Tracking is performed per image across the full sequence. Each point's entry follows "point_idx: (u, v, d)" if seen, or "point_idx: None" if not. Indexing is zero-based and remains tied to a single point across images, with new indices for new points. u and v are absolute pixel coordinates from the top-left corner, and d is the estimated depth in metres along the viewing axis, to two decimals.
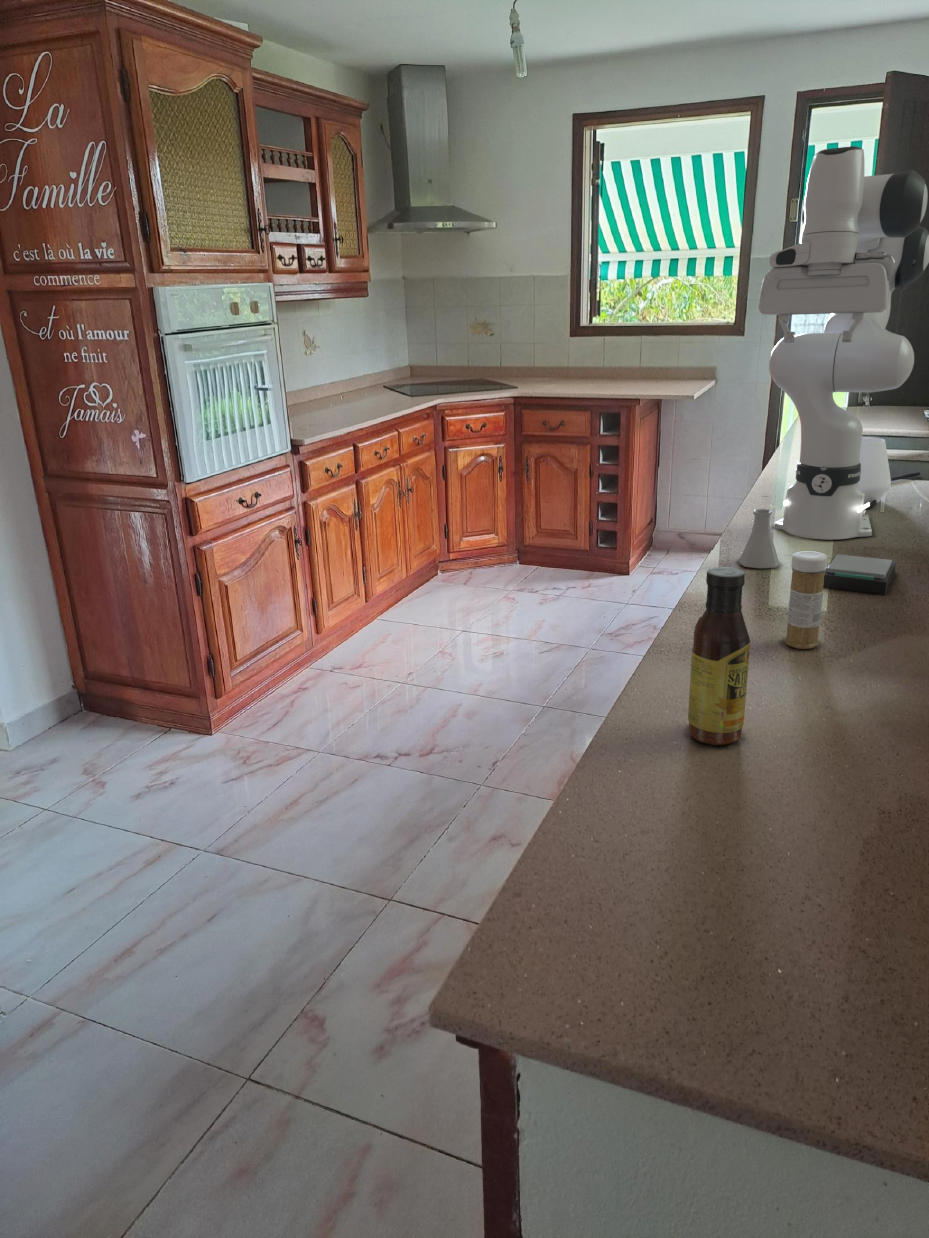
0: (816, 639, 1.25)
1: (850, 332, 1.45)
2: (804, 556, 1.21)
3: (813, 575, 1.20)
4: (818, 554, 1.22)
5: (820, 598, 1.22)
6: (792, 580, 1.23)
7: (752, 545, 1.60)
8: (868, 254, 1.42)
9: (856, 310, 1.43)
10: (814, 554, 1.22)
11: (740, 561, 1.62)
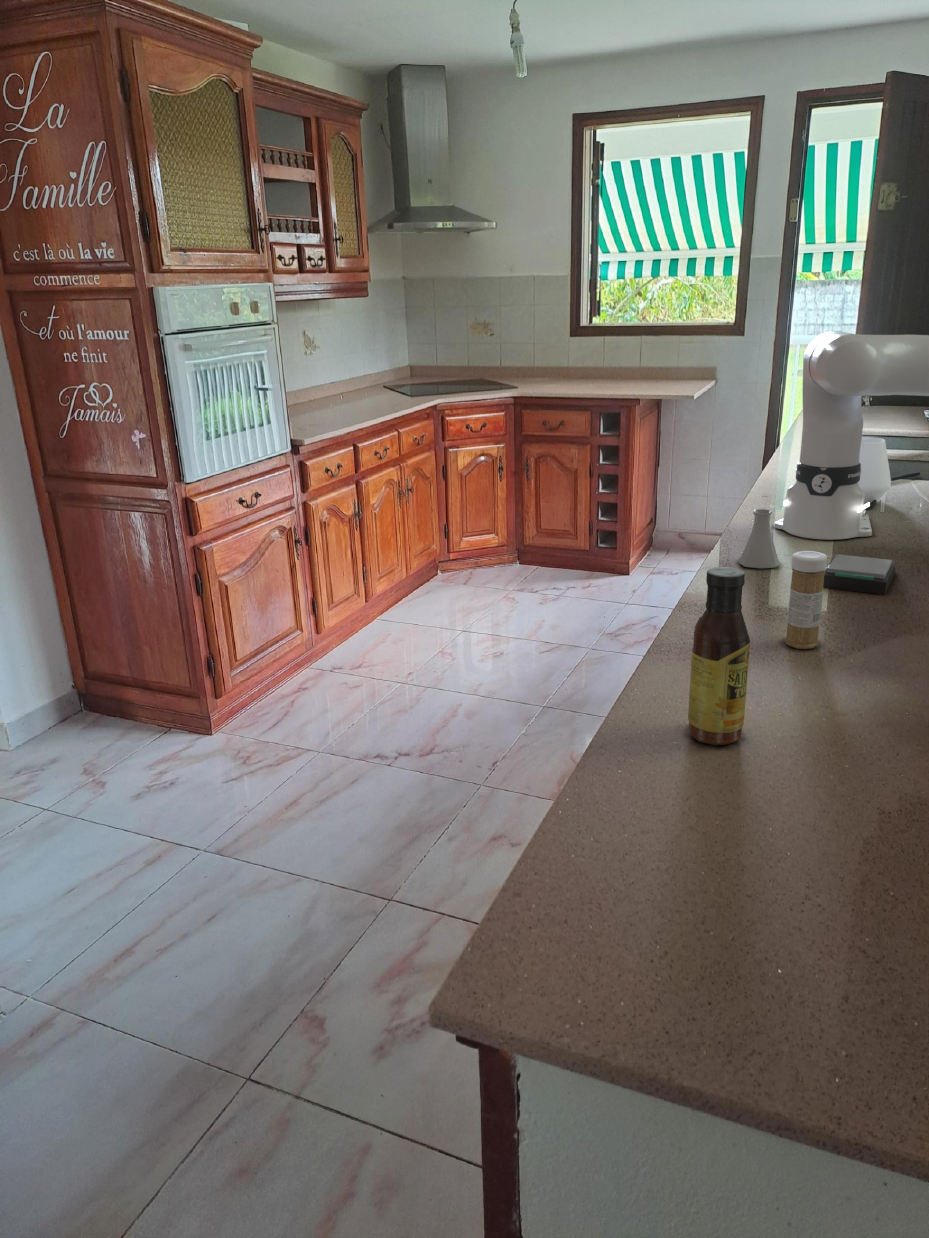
0: (816, 639, 1.25)
1: None
2: (804, 556, 1.21)
3: (813, 575, 1.20)
4: (818, 554, 1.22)
5: (820, 598, 1.22)
6: (792, 580, 1.23)
7: (752, 545, 1.60)
8: None
9: None
10: (814, 554, 1.22)
11: (740, 561, 1.62)
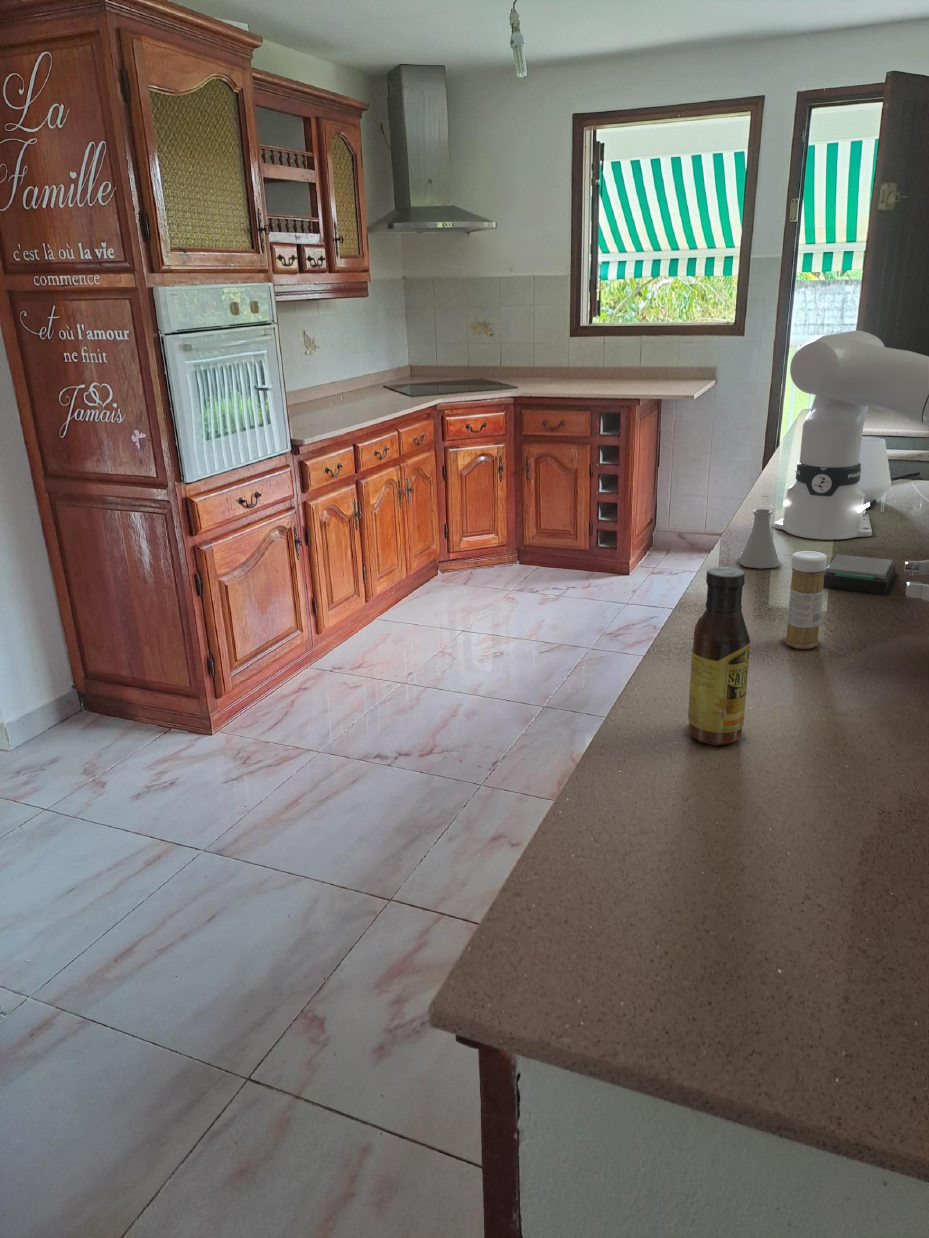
0: (816, 639, 1.25)
1: (920, 584, 1.12)
2: (803, 556, 1.21)
3: (813, 575, 1.20)
4: (818, 554, 1.22)
5: (820, 598, 1.22)
6: (792, 580, 1.23)
7: (752, 545, 1.60)
8: None
9: None
10: (814, 554, 1.22)
11: (740, 561, 1.62)
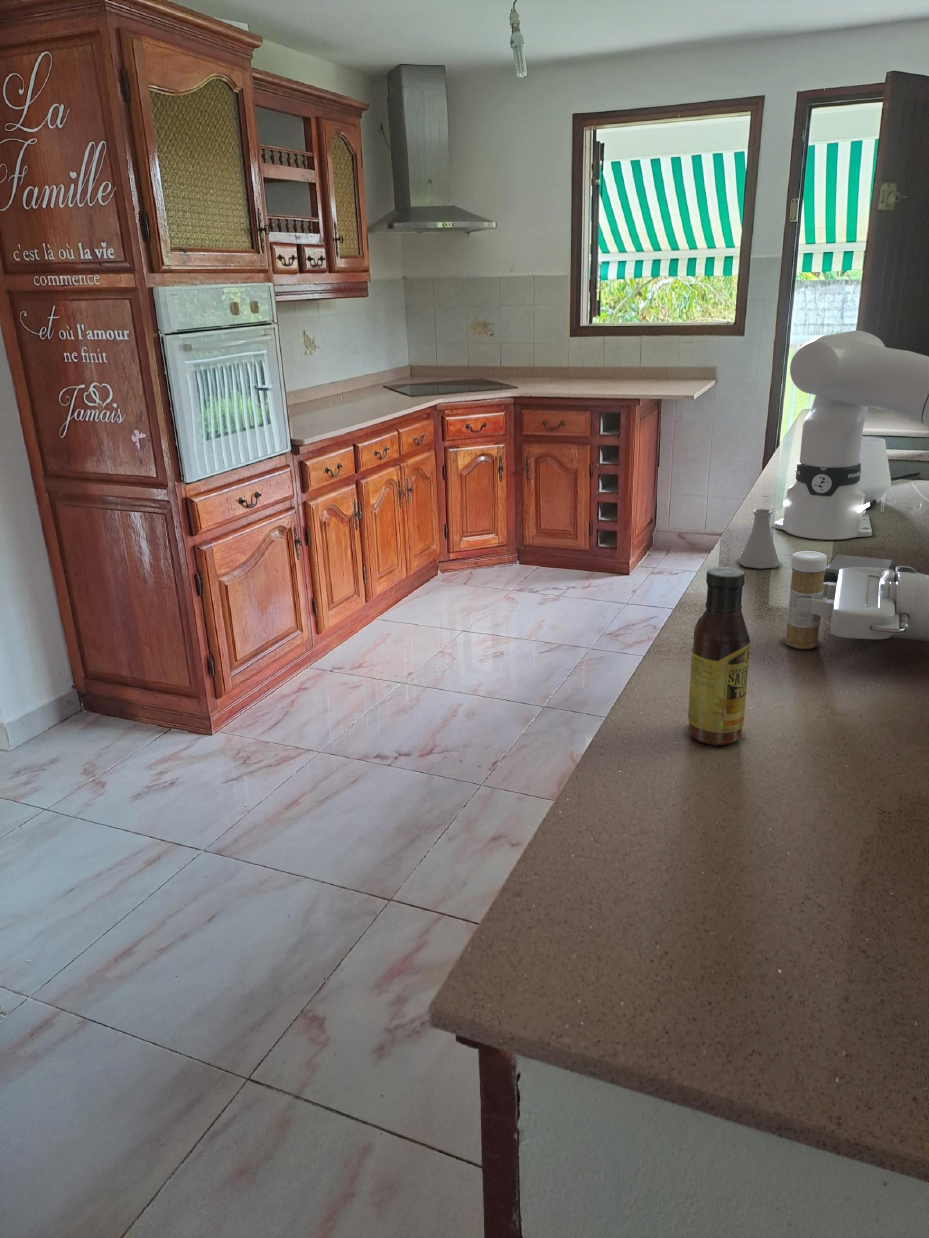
0: (816, 639, 1.25)
1: (809, 598, 1.20)
2: (803, 556, 1.21)
3: (813, 575, 1.20)
4: (818, 554, 1.22)
5: (820, 598, 1.22)
6: (792, 580, 1.23)
7: (752, 545, 1.60)
8: (906, 618, 1.13)
9: (835, 601, 1.17)
10: (813, 554, 1.22)
11: (740, 561, 1.62)
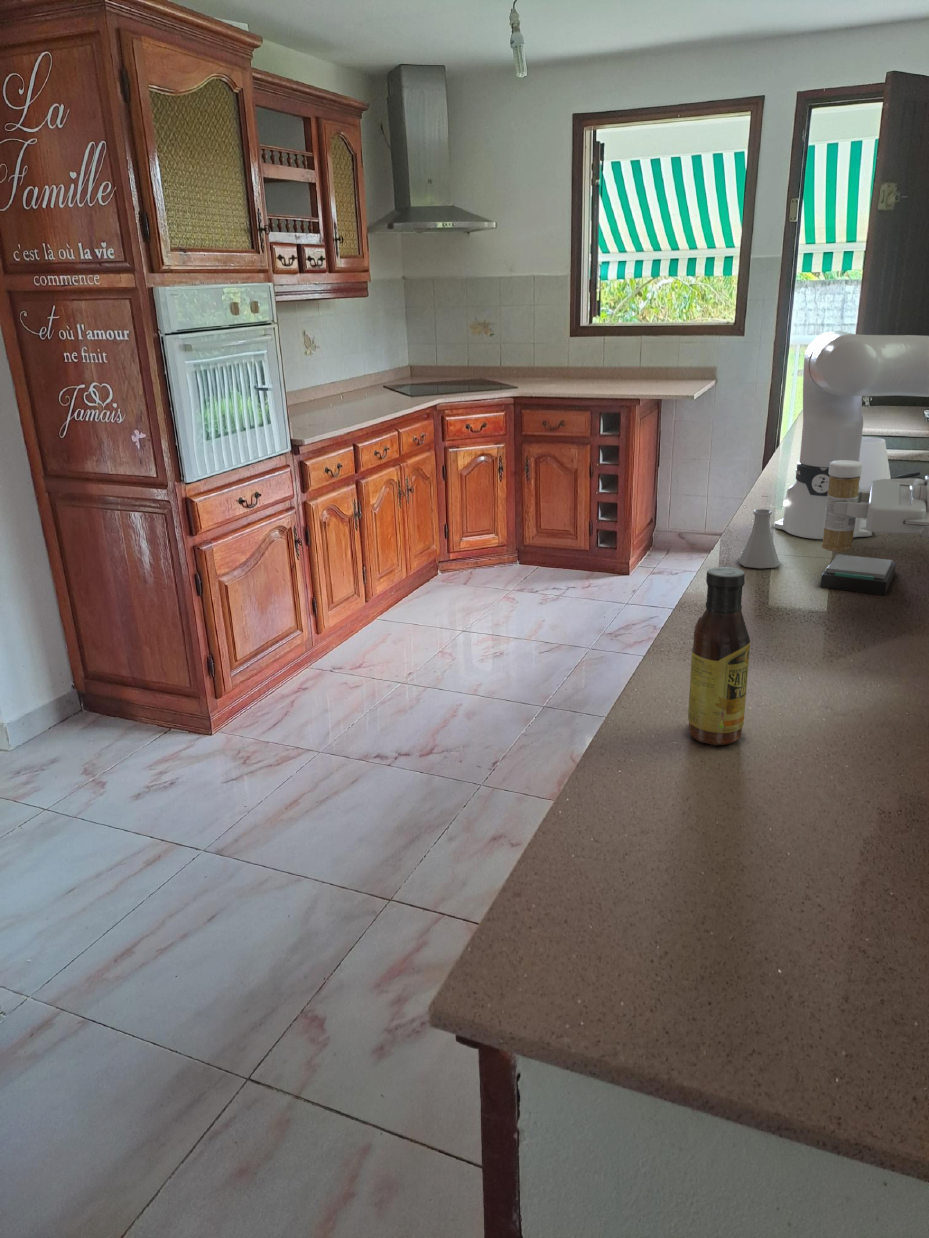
0: (851, 543, 1.34)
1: (845, 502, 1.30)
2: (840, 463, 1.31)
3: (849, 480, 1.30)
4: (854, 462, 1.31)
5: None
6: (829, 486, 1.33)
7: (752, 545, 1.60)
8: None
9: (870, 502, 1.27)
10: (849, 462, 1.31)
11: (740, 561, 1.62)
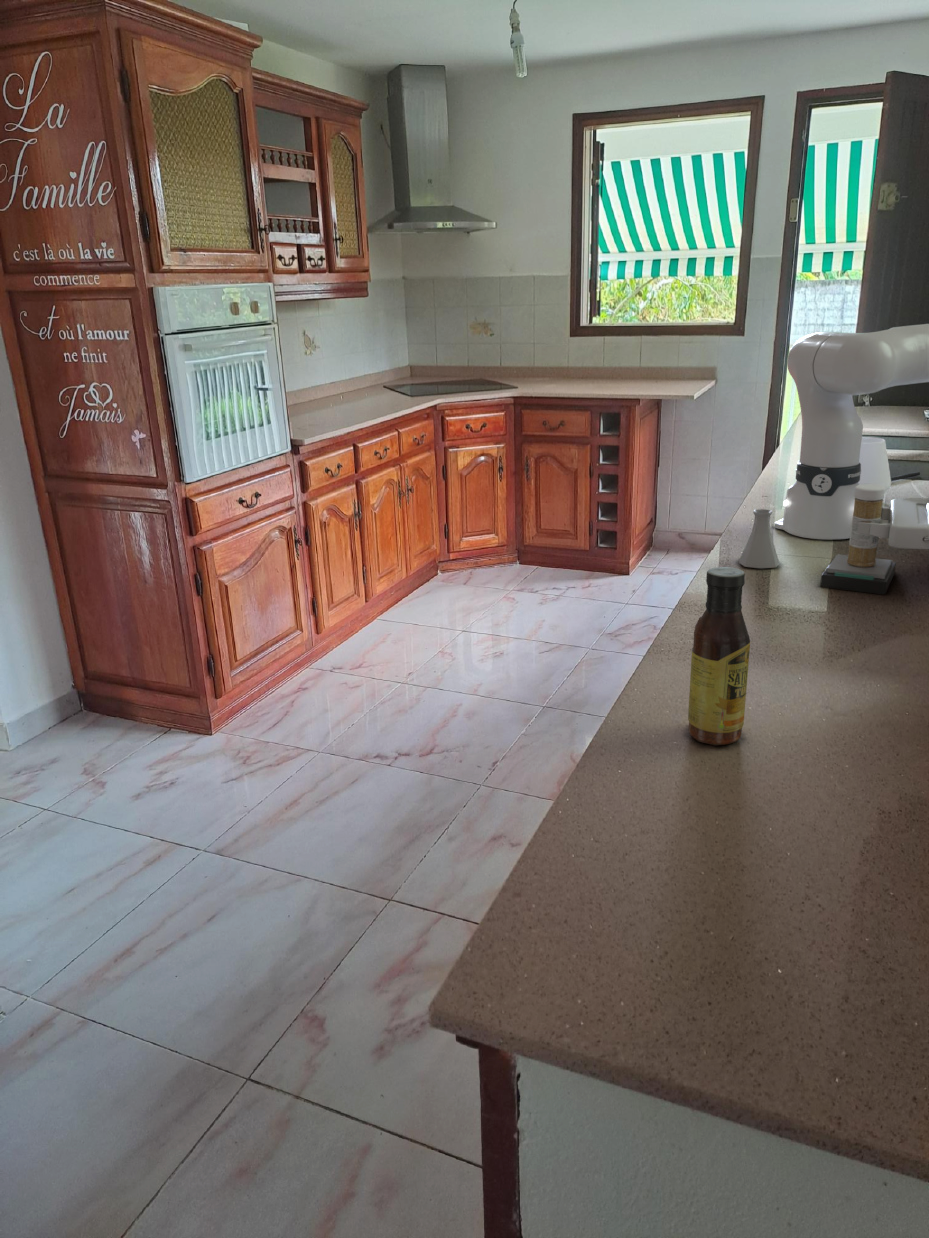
0: (874, 559, 1.48)
1: (868, 523, 1.43)
2: (865, 487, 1.45)
3: (873, 502, 1.44)
4: (877, 486, 1.45)
5: None
6: (855, 508, 1.46)
7: (752, 545, 1.60)
8: None
9: (892, 520, 1.40)
10: (873, 486, 1.45)
11: (740, 561, 1.62)
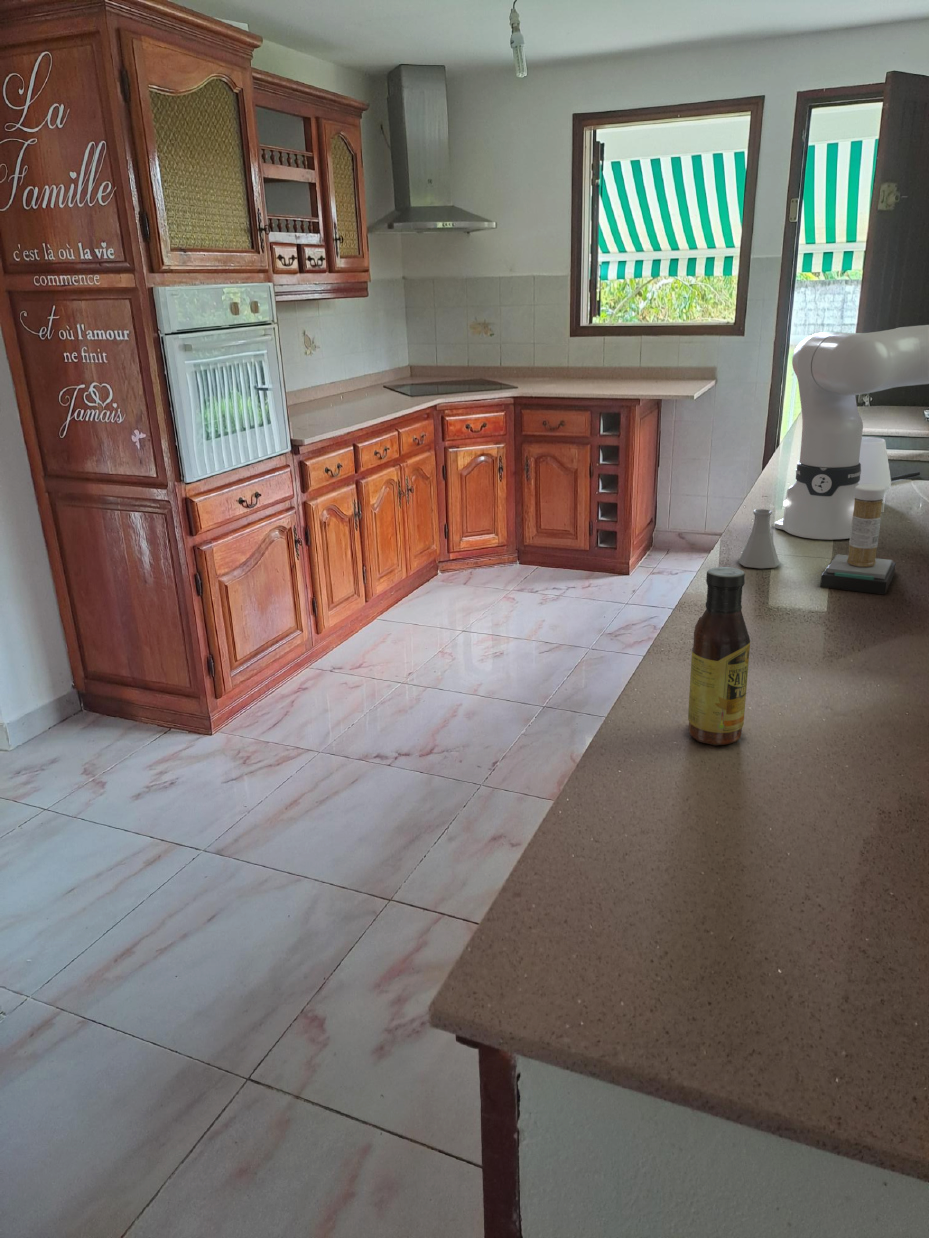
0: (874, 559, 1.48)
1: None
2: (865, 487, 1.45)
3: (873, 502, 1.44)
4: (877, 486, 1.45)
5: (878, 523, 1.46)
6: (855, 508, 1.46)
7: (752, 545, 1.60)
8: None
9: None
10: (873, 486, 1.45)
11: (740, 561, 1.62)
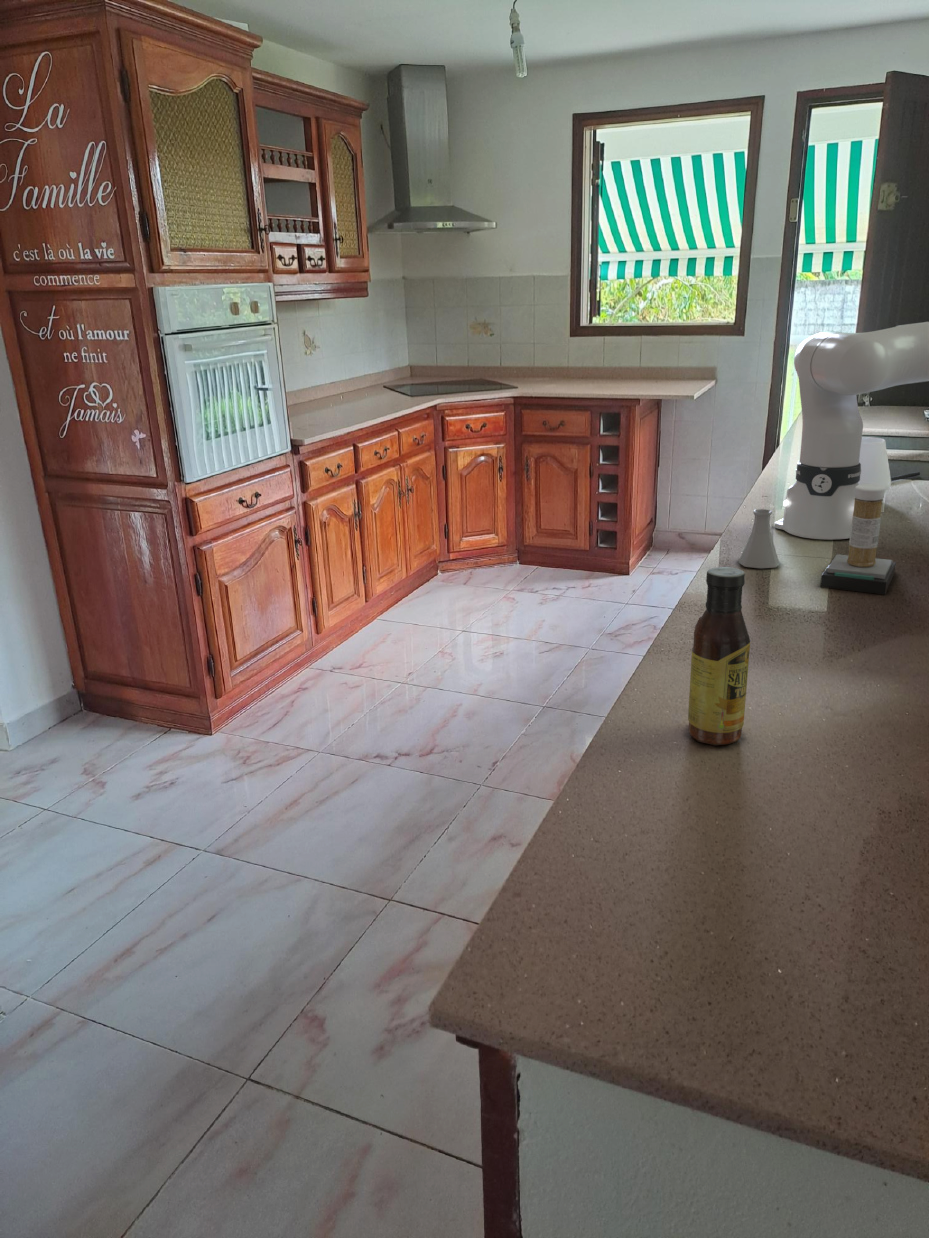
0: (874, 559, 1.48)
1: None
2: (865, 487, 1.45)
3: (873, 502, 1.44)
4: (877, 486, 1.45)
5: (878, 523, 1.46)
6: (855, 508, 1.46)
7: (752, 545, 1.60)
8: None
9: None
10: (873, 486, 1.45)
11: (740, 561, 1.62)
